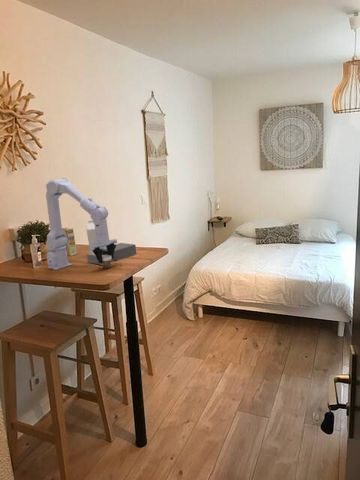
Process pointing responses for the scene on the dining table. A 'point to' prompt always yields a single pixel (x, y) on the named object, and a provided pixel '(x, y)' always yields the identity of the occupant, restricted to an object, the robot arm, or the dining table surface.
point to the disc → (106, 257)
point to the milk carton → (92, 235)
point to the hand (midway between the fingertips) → (106, 261)
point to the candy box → (70, 241)
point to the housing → (121, 251)
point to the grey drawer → (95, 259)
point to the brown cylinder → (106, 264)
